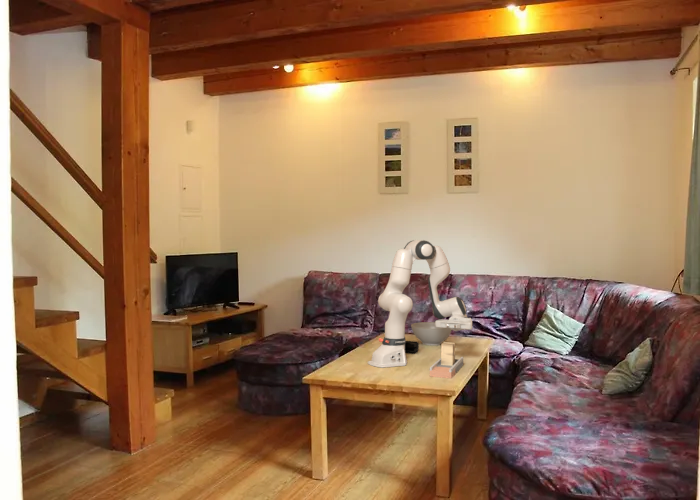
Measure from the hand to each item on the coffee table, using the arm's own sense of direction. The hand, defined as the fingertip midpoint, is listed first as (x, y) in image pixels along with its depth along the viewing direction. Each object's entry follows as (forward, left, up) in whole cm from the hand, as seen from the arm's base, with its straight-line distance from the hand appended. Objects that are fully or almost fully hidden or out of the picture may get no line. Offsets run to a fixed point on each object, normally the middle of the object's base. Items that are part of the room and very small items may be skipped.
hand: (451, 326), depth 327 cm
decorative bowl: (+36, +56, -22) cm, 70 cm away
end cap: (+6, +42, -22) cm, 48 cm away
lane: (-7, -5, -22) cm, 24 cm away
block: (-6, -4, -19) cm, 20 cm away
